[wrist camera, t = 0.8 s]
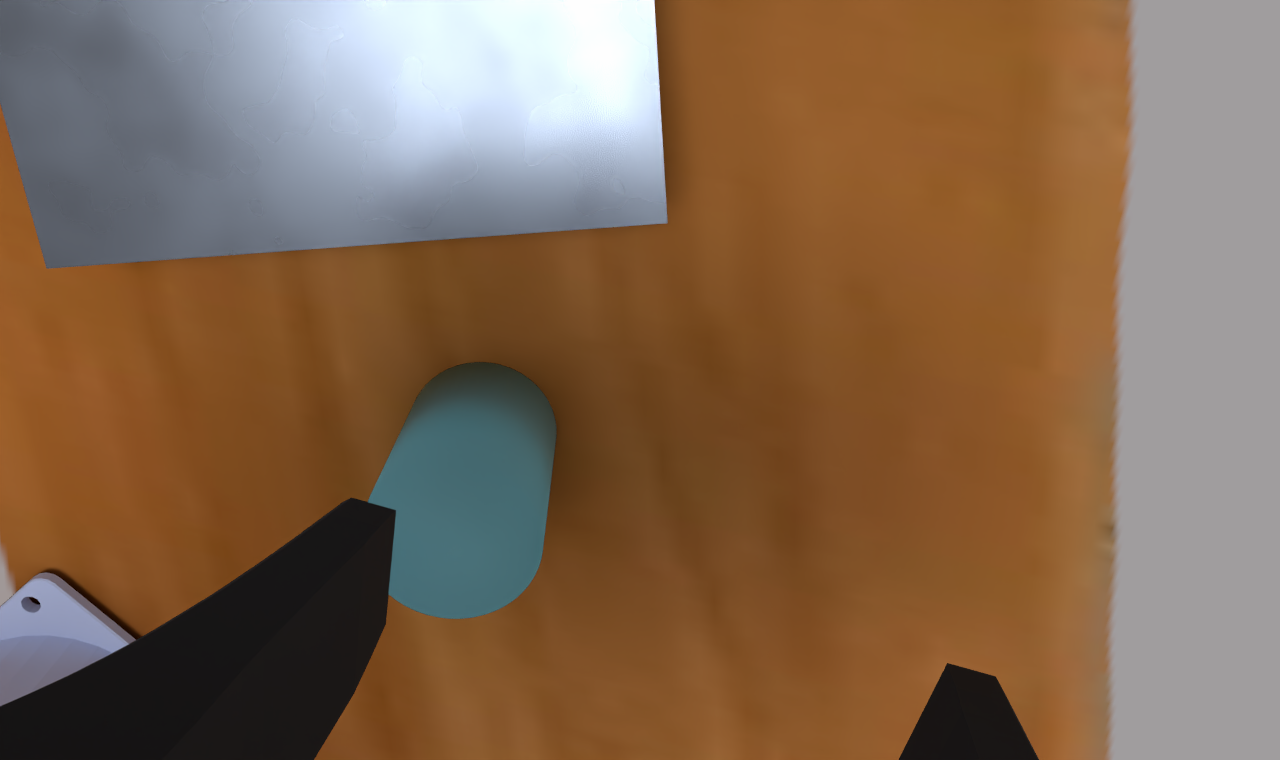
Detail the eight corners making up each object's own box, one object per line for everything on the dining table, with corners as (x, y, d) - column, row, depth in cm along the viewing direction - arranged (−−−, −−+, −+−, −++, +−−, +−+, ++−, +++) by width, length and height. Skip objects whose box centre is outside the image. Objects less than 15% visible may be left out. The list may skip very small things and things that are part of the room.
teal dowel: (479, 522, 29) (448, 649, 24) (378, 423, 28) (320, 532, 22) (586, 438, 28) (581, 549, 23) (487, 332, 27) (455, 422, 22)
